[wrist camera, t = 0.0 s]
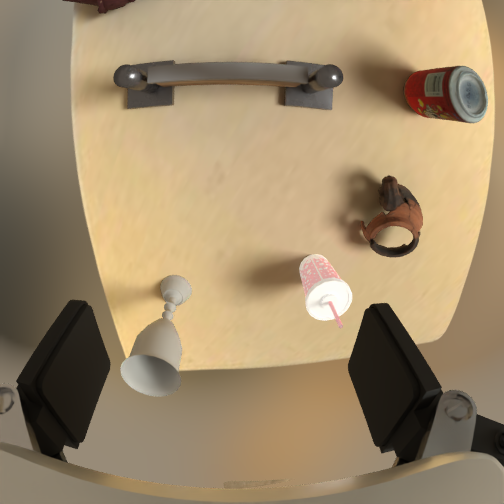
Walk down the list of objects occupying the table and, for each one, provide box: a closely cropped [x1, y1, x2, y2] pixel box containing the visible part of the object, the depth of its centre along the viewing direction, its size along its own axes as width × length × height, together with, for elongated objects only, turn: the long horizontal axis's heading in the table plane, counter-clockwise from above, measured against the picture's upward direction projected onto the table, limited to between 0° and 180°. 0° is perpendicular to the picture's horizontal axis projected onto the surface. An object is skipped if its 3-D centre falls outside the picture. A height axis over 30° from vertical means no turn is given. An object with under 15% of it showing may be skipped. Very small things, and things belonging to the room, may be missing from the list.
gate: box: [147, 62, 308, 87], centre depth 28 cm, size 2×16×7 cm, turn 88°
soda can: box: [404, 66, 488, 123], centre depth 27 cm, size 7×7×12 cm
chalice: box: [120, 275, 192, 396], centre depth 37 cm, size 7×7×18 cm
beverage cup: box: [299, 254, 352, 328], centre depth 38 cm, size 6×6×14 cm
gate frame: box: [114, 60, 343, 110], centre depth 28 cm, size 6×26×10 cm, turn 88°
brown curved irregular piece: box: [361, 176, 423, 257], centre depth 38 cm, size 12×10×8 cm
